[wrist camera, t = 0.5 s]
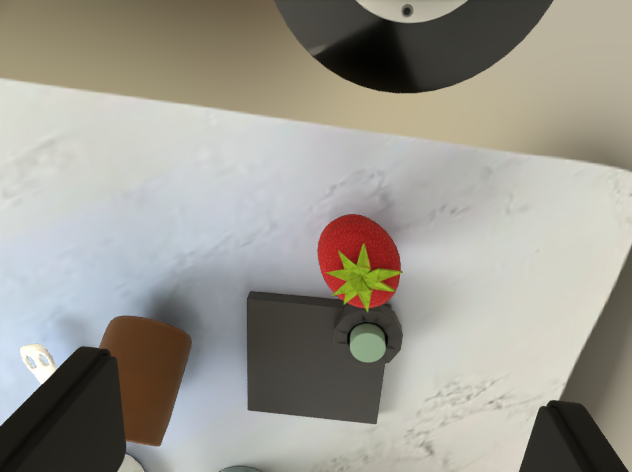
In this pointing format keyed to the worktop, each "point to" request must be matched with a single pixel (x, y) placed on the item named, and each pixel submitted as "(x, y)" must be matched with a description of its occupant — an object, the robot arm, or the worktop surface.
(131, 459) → the spatula
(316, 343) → the scale
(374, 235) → the strawberry
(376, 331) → the button
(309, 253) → the worktop surface
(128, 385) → the mug
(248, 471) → the green plant pot
